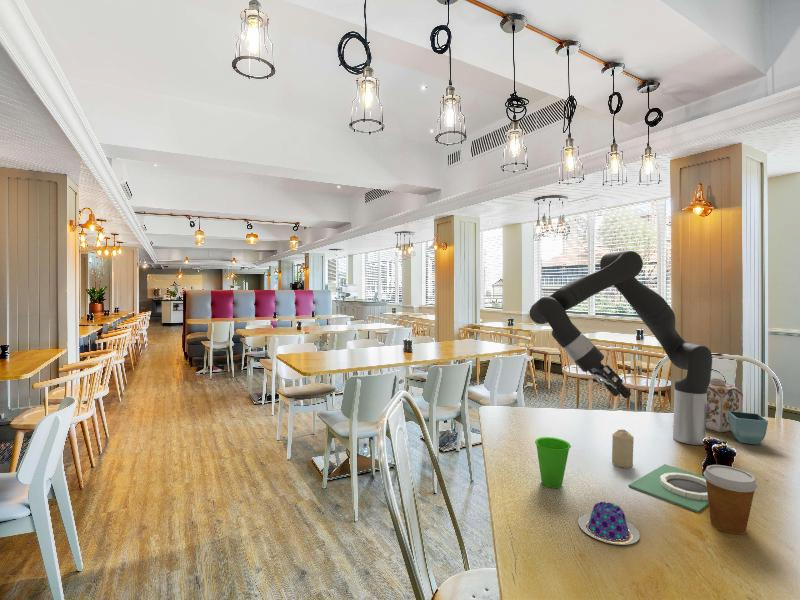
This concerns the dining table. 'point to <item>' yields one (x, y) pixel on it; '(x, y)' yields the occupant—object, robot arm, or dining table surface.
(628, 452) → the candle
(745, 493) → the disposable coffee cup
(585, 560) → the dining table surface
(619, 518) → the pudding
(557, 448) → the cup
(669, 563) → the dining table surface
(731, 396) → the decorative jar
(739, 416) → the flower pot
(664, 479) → the putting green
